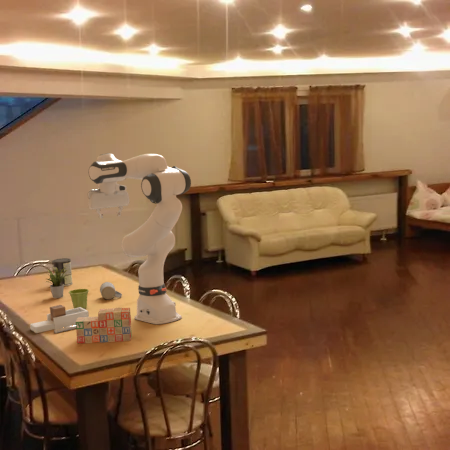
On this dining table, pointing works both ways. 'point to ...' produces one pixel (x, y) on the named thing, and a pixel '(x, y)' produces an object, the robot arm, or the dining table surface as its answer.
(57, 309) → the walnut block
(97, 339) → the stack of blocks
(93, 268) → the dining table surface
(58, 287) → the house plant
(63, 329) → the steel rod
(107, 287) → the ceramic mug
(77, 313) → the channel
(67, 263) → the coffee can
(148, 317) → the robot arm
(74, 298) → the plant pot
